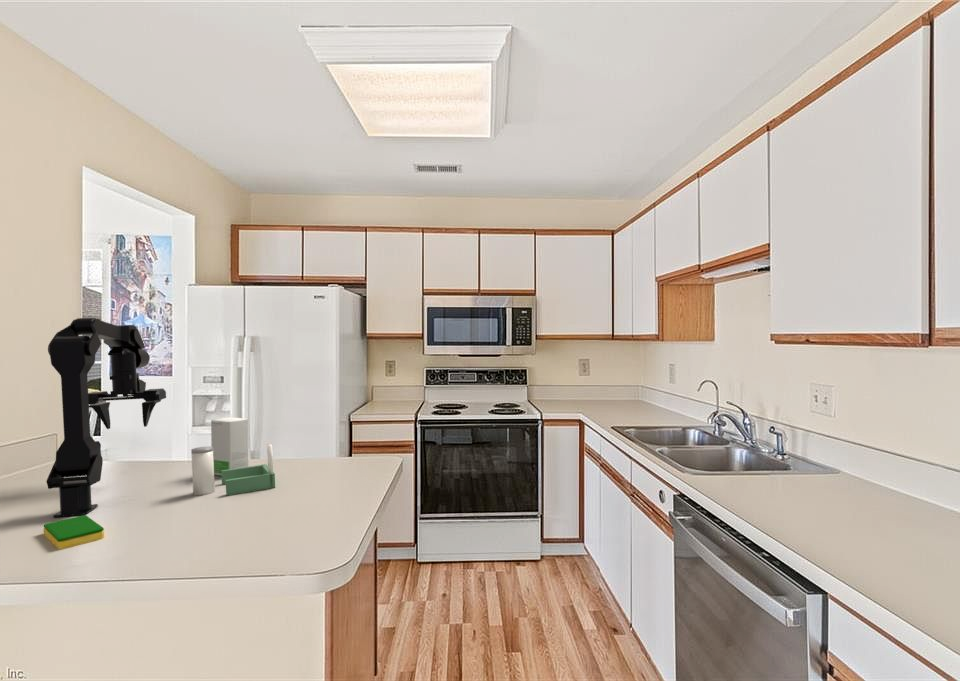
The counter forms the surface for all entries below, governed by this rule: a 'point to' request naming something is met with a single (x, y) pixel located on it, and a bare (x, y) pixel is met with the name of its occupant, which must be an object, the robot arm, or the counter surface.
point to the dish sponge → (73, 531)
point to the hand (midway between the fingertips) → (127, 427)
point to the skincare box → (229, 443)
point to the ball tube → (203, 470)
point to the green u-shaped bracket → (250, 477)
